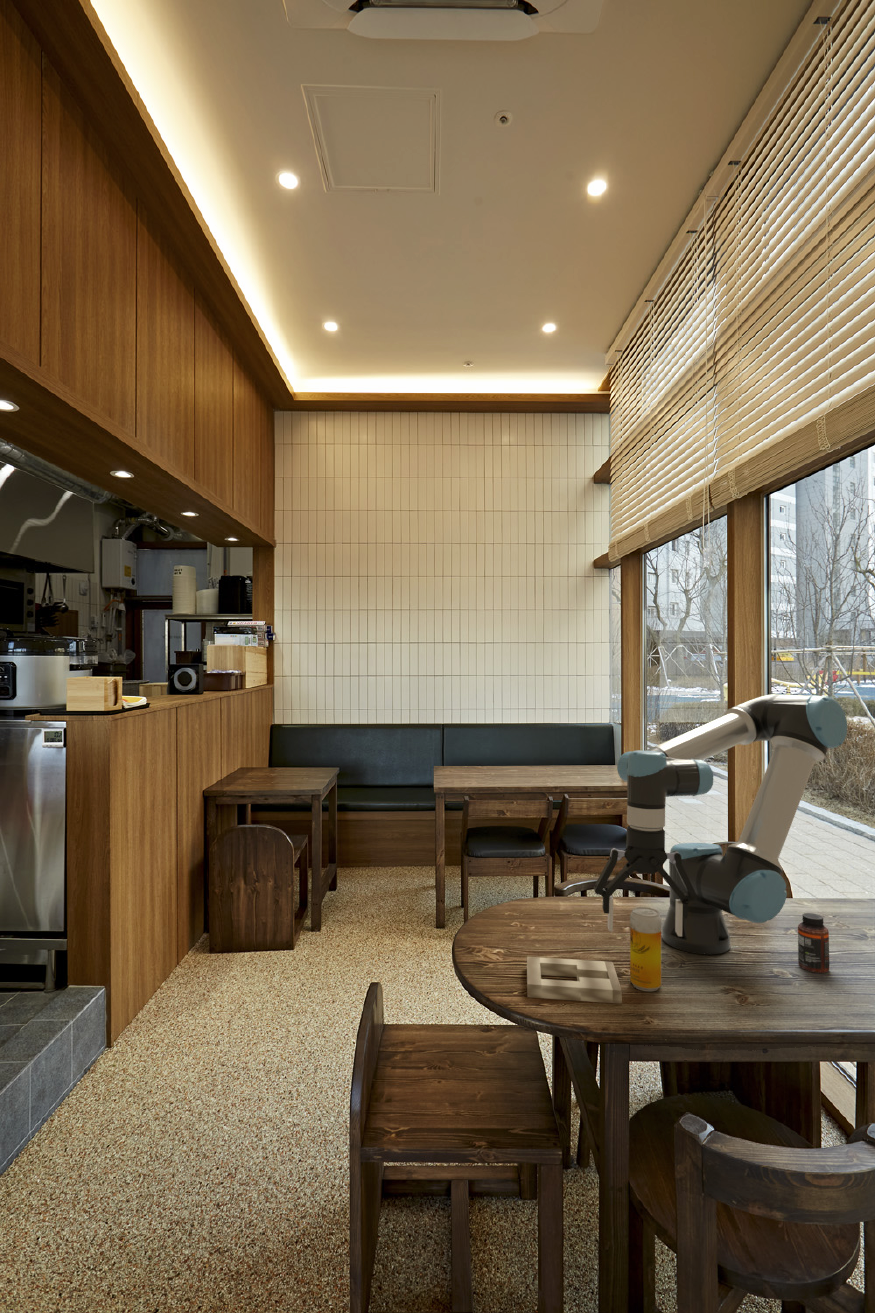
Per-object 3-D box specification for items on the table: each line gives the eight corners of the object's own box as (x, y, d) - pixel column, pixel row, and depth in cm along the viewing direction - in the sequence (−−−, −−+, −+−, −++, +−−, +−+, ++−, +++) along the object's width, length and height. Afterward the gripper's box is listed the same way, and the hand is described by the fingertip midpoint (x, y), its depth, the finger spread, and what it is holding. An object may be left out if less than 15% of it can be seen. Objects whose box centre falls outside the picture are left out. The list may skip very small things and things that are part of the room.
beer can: (625, 979, 139) (625, 906, 139) (654, 978, 139) (654, 906, 140) (636, 993, 133) (637, 917, 133) (666, 992, 133) (666, 916, 134)
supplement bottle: (826, 964, 147) (825, 913, 147) (832, 976, 141) (832, 922, 142) (795, 960, 149) (795, 909, 149) (800, 971, 143) (800, 918, 144)
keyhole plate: (612, 974, 141) (612, 962, 141) (621, 1003, 128) (621, 990, 128) (526, 968, 143) (527, 956, 144) (527, 997, 131) (527, 984, 131)
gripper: (704, 826, 139) (702, 929, 138) (582, 820, 142) (580, 920, 141) (714, 834, 132) (713, 943, 131) (585, 827, 135) (583, 933, 134)
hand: (644, 931), depth 136 cm, fingers open, 13 cm apart
